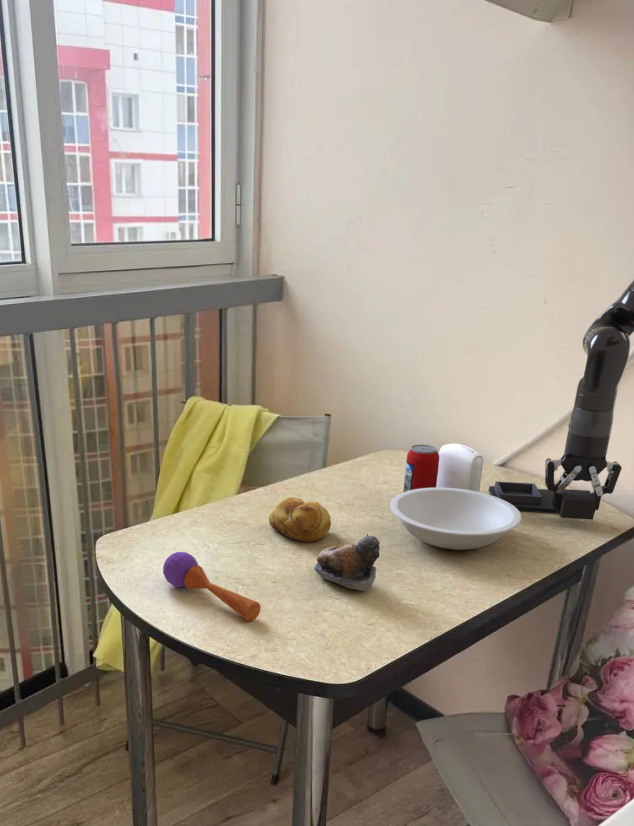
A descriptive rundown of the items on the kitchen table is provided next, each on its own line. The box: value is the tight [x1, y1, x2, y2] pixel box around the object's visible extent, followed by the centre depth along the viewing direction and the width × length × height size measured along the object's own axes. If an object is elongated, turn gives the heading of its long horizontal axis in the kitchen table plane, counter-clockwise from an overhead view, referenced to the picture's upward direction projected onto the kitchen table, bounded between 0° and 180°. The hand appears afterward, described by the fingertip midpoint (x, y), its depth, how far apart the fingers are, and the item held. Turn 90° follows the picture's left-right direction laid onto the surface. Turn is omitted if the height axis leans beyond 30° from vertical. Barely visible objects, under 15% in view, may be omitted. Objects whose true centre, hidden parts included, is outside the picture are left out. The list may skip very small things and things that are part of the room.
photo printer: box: [436, 443, 484, 492], centre depth 166 cm, size 10×4×12 cm, turn 32°
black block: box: [557, 488, 597, 521], centre depth 155 cm, size 6×6×4 cm
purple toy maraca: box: [162, 551, 262, 622], centre depth 126 cm, size 6×6×20 cm
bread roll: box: [268, 496, 332, 543], centre depth 150 cm, size 13×10×8 cm
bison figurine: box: [313, 533, 381, 592], centre depth 130 cm, size 12×7×10 cm, turn 44°
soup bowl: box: [389, 487, 523, 551], centre depth 147 cm, size 24×24×7 cm
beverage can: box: [402, 444, 440, 493], centre depth 165 cm, size 7×7×12 cm
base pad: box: [488, 481, 559, 514], centre depth 167 cm, size 16×12×3 cm
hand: (574, 510), depth 156 cm, fingers closed on black block, 6 cm apart
